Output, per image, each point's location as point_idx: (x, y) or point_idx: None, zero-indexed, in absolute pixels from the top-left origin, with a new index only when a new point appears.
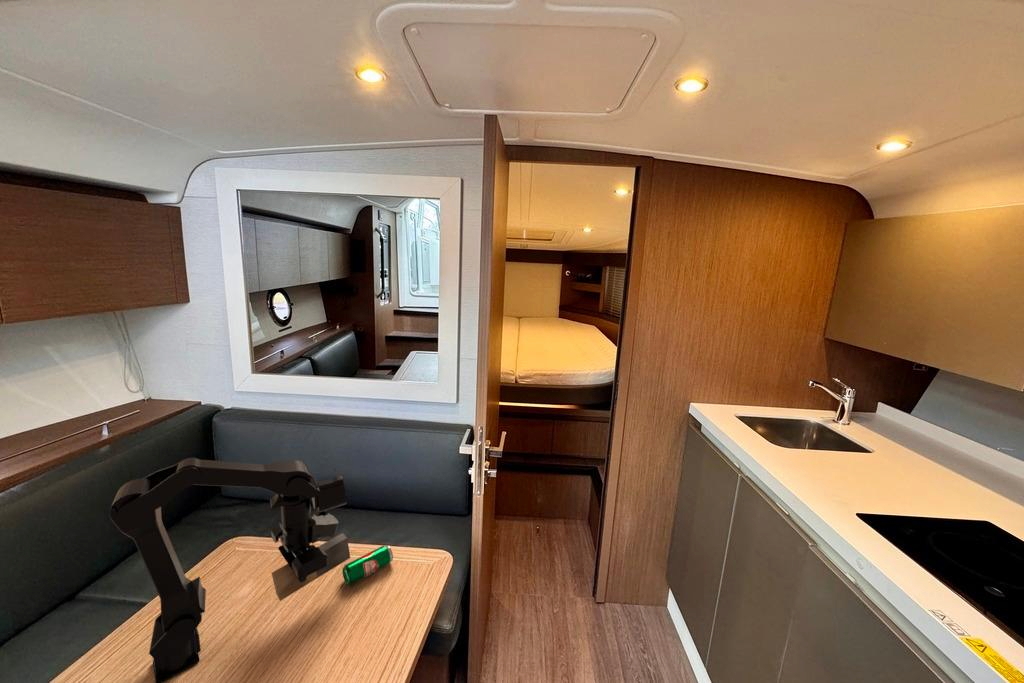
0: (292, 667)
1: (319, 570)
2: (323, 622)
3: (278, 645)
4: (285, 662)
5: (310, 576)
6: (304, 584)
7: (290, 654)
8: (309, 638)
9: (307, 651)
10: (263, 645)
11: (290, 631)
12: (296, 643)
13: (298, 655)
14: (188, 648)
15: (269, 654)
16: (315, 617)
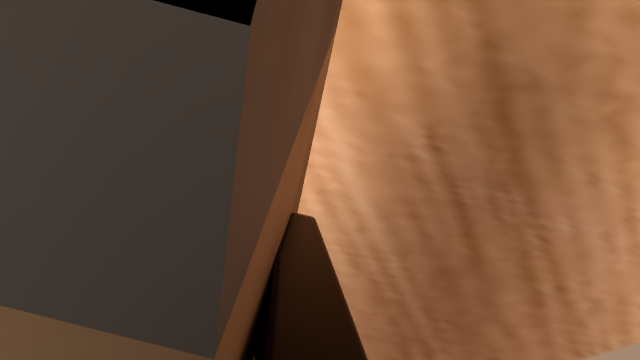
0: (622, 319)
1: (330, 18)
2: (558, 57)
3: (426, 281)
4: (557, 317)
5: (304, 149)
6: (302, 184)
7: (543, 284)
8: (566, 182)
9: (630, 237)
10: (354, 309)
11: (402, 206)
12: (514, 235)
13: (595, 271)
14: None
15: (433, 323)
16: (459, 61)
